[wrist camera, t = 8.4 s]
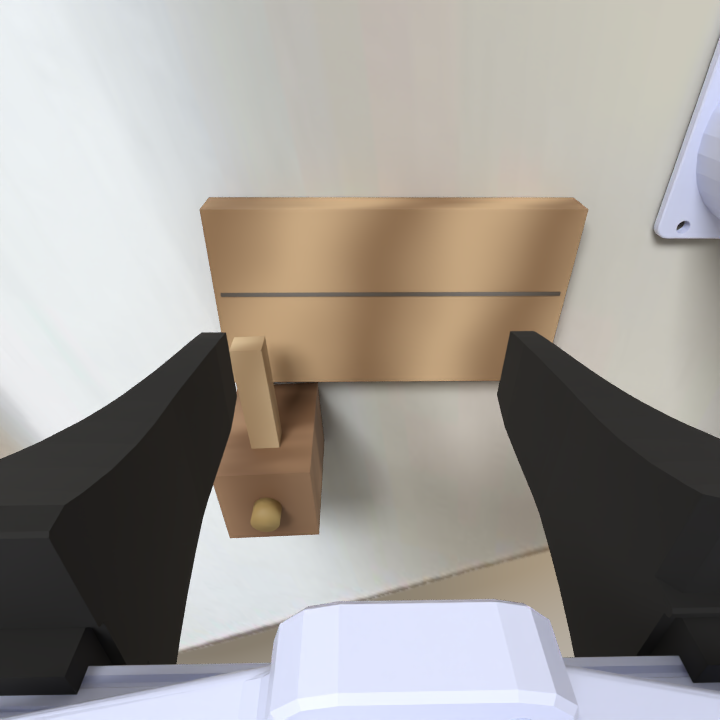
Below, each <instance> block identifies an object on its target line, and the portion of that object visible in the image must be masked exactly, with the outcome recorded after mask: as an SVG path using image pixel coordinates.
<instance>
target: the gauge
mask: <svg viewBox="0 0 720 720" xmlns="http://www.w3.org/2000/svg"><path fill="white" fill-rule="evenodd" d="M229 352H230V358H231V363H232V367H233V371H234V376H235V380H236V384H237V392H236V393H237V400H236V406H235V412H234V418H233V423H232V428H231V432H230V435H229V438H228V441H227V444H226V447H225V451H224V454H223V457H222V460H221V463H220V466H219V469H218V472H217V475H216V478H215V481H214V484H213V485H214V488H215V491H216V495H217V498H218V501H219V504H220V507H221V511H222V514H223V517H224V520H225V524H226V527H227V530H228V533H229V536H230V538H246V537H269V536H292V535H315V534H319V525H320V507H321V490H322V472H323V455H324V434H323V425H322V416H321V408H320V399H319V390H318V382H317V383H296V384H273V378H272V372H271V367H270V361H269V356H268V350H267V345H266V339H265V336H252V337H234V339H233V342H232V344H231V347H230V350H229Z"/></svg>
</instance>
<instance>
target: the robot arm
mask: <svg viewBox="0 0 720 720" xmlns="http://www.w3.org/2000/svg"><path fill="white" fill-rule="evenodd" d="M682 221H685V224H684V225H683V227H682V228H680V229H678V230H677V226H678V224H679V223H681V222H682ZM654 231H655V233H656V234H657V235H659V236H660V237H662V238H666V239H720V38H719V41H718V44H717V47H716V50H715V52H714V55H713V58H712V61H711V64H710V67H709V70H708V72H707V75H706V78H705V81H704V84H703V87H702V90H701V92H700V95H699V98H698V101H697V104H696V107H695V110H694V113H693V115H692V118H691V121H690V124H689V127H688V130H687V133H686V135H685V138H684V141H683V144H682V147H681V150H680V153H679V155H678V158H677V161H676V164H675V167H674V170H673V173H672V175H671V178H670V181H669V184H668V187H667V190H666V193H665V196H664V198H663V201H662V204H661V207H660V210H659V213H658V216H657V218H656V221H655V224H654ZM497 396H498V401H499V405H500V409H501V414H502V418H503V421H504V425H505V428H506V431H507V434H508V436H509V439H510V441H511V444H512V446H513V449H514V451H515V454H516V456H517V458H518V461H519V463H520V466H521V468H522V471H523V473H524V475H525V478H526V480H527V483H528V485H529V487H530V490H531V492H532V495H533V497H534V500H535V503H536V505H537V508H538V511H539V514H540V517H541V521H542V524H543V528H544V531H545V535H546V538H547V542H548V545H549V549H550V553H551V557H552V561H553V564H554V568H555V572H556V576H557V580H558V584H559V587H560V592H561V597H562V600H563V605H564V610H565V614H566V618H567V623H568V627H569V631H570V636H571V641H572V646H573V651H574V656H575V657H574V658H573V657H572V658H571V657H570V658H562V655H561V652H560V649H559V646H558V644H557V641H556V637H555V634H554V632H553V629H552V626H551V623H550V620H549V619H548V618H546V617H544V616H543V615H542V614H540V613H538V612H537V611H535V610H534V609H533V608H531V607H529V606H527V605H526V604H524V603H518V602H511V601H504V600H497V599H465V600H401V601H399V600H397V601H339V602H333V603H327V604H320V605H314V606H308V607H306V608H305V609H303V610H301V611H300V612H298V613H296V614H295V615H293V616H291V617H289V618H288V619H286V620H285V621H284V622H282V623H281V624H280V625H279V628H278V631H277V634H276V637H275V640H274V644H273V653H272V662H271V663H232V664H231V663H229V664H179V665H178V664H176V662H177V655H178V649H179V642H180V636H181V630H182V624H183V618H184V612H185V606H186V600H187V594H188V589H189V584H190V579H191V573H192V568H193V563H194V558H195V553H196V548H197V543H198V538H199V534H200V529H201V524H202V520H203V516H204V512H205V509H206V505H207V502H208V499H209V496H210V493H211V490H212V487H213V484H214V481H215V478H216V475H217V472H218V469H219V466H220V463H221V460H222V457H223V454H224V451H225V447H226V444H227V441H228V438H229V435H230V432H231V428H232V423H233V418H234V412H235V406H236V400H237V393H236V387H235V381H234V375H233V370H232V364H231V358H230V352H229V346H228V340H227V335H226V332H220V333H201V334H199V335H198V336H197V337H195V338H194V339H193V340H192V341H190V342H189V343H188V344H187V345H186V346H184V347H183V348H182V349H181V350H180V351H179V352H177V353H176V354H175V355H174V356H173V357H171V358H170V359H169V360H168V361H166V362H165V363H164V364H163V365H162V366H160V367H159V368H158V369H157V370H155V371H154V372H153V373H152V374H150V375H149V376H148V377H146V378H145V379H144V380H142V381H141V382H139V383H138V384H137V385H135V386H134V387H133V388H131V389H130V390H129V391H127V392H126V393H125V394H123V395H122V396H120V397H119V398H117V399H116V400H114V401H113V402H111V403H110V404H108V405H107V406H105V407H103V408H102V409H100V410H98V411H97V412H95V413H93V414H92V415H90V416H88V417H87V418H85V419H83V420H81V421H80V422H78V423H76V424H74V425H72V426H70V427H68V428H66V429H64V430H62V431H60V432H58V433H56V434H54V435H52V436H50V437H49V438H47V439H45V440H43V441H41V442H39V443H36V444H34V445H32V446H30V447H27V448H25V449H23V450H21V451H18V452H16V453H14V454H11V455H9V456H7V457H4V458H2V459H0V720H720V439H719V438H717V437H714V436H712V435H710V434H708V433H705V432H703V431H701V430H698V429H696V428H694V427H691V426H689V425H687V424H685V423H682V422H680V421H678V420H676V419H674V418H672V417H670V416H668V415H666V414H664V413H662V412H660V411H658V410H656V409H654V408H652V407H651V406H649V405H647V404H645V403H643V402H641V401H639V400H638V399H636V398H634V397H632V396H631V395H629V394H627V393H626V392H624V391H622V390H621V389H619V388H618V387H616V386H614V385H613V384H611V383H609V382H608V381H606V380H605V379H603V378H602V377H600V376H599V375H597V374H596V373H594V372H593V371H591V370H590V369H588V368H587V367H586V366H584V365H583V364H581V363H580V362H578V361H577V360H576V359H574V358H573V357H571V356H570V355H569V354H567V353H566V352H564V351H563V350H562V349H560V348H559V347H557V346H556V345H555V344H553V343H552V342H550V341H549V340H548V339H546V338H545V337H543V336H542V335H540V334H538V333H537V332H535V331H510V335H509V339H508V344H507V349H506V354H505V359H504V363H503V368H502V373H501V378H500V383H499V388H498V392H497Z"/></svg>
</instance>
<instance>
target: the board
mask: <svg viewBox="0 0 720 720" xmlns="http://www.w3.org/2000/svg"><path fill="white" fill-rule="evenodd" d="M587 213H588V209H587V208H586V207H585V206H583V205H582V204H581V203H580V202H578V201H577V200H576V199H575V198H271V197H209V198H208V199H207V201H206V202H205V203H204V205H203V206H202V207H201V208H200V214H201V220H202V226H203V231H204V237H205V242H206V248H207V254H208V259H209V265H210V271H211V276H212V282H213V287H214V293H215V299H216V304H217V310H218V316H219V321H220V327H221V332H226V335H227V340H228V346H229V350H230V347H231V344H232V342H233V339H234V337H252V336H265V339H266V345H267V350H268V356H269V361H270V367H271V372H272V378H273V382H355V381H500V378H501V373H502V368H503V363H504V359H505V354H506V349H507V344H508V339H509V335H510V331H535V332H537V333H538V334H540V335H542V336H543V337H545V338H546V339H548V340H549V341H550V342H552V343H553V340H554V336H555V332H556V328H557V325H558V321H559V317H560V314H561V310H562V306H563V302H564V299H565V295H566V291H567V287H568V284H569V280H570V276H571V272H572V269H573V265H574V261H575V257H576V254H577V250H578V246H579V243H580V239H581V235H582V231H583V228H584V224H585V220H586V216H587ZM231 364H232V363H231ZM232 370H233V367H232ZM233 375H234V371H233ZM234 381H235V382H236V380H235V376H234Z"/></svg>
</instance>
